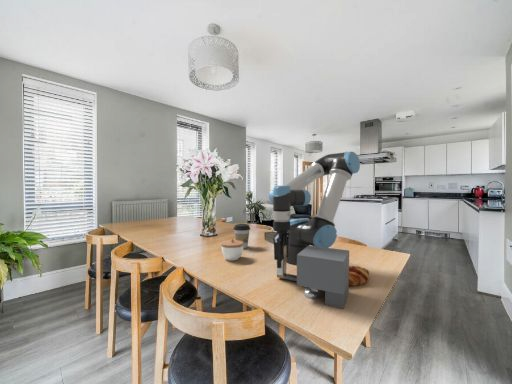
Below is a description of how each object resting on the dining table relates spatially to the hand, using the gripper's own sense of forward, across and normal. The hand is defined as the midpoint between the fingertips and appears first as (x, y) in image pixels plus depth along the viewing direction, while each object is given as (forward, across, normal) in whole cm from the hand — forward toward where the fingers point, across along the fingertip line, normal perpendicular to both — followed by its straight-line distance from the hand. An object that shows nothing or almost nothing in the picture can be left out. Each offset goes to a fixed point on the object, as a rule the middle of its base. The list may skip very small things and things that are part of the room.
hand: (281, 273), depth 103 cm
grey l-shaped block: (+2, -7, -20) cm, 21 cm away
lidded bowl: (+3, +13, +35) cm, 38 cm away
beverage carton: (+3, +60, +30) cm, 68 cm away
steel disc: (+3, -10, -16) cm, 19 cm away
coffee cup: (+3, +36, +43) cm, 56 cm away
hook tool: (+2, -2, -10) cm, 10 cm away
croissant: (+3, +13, -29) cm, 32 cm away
